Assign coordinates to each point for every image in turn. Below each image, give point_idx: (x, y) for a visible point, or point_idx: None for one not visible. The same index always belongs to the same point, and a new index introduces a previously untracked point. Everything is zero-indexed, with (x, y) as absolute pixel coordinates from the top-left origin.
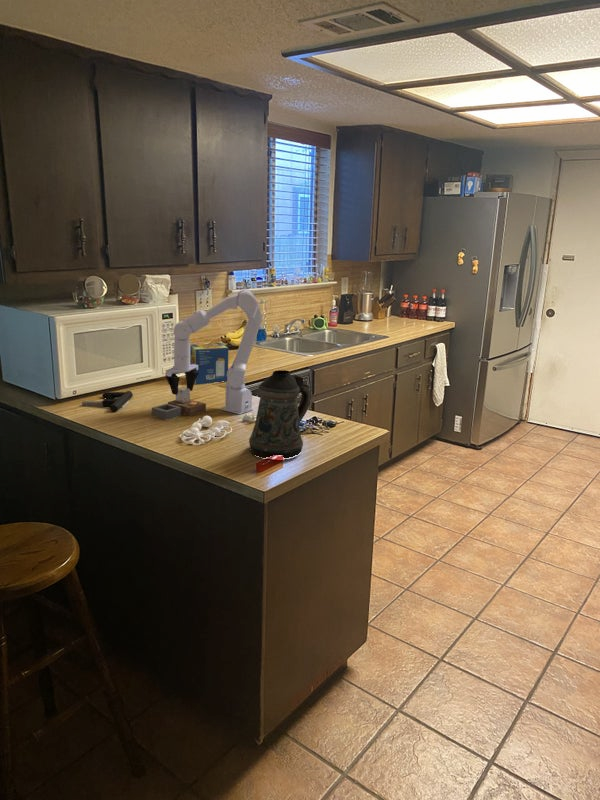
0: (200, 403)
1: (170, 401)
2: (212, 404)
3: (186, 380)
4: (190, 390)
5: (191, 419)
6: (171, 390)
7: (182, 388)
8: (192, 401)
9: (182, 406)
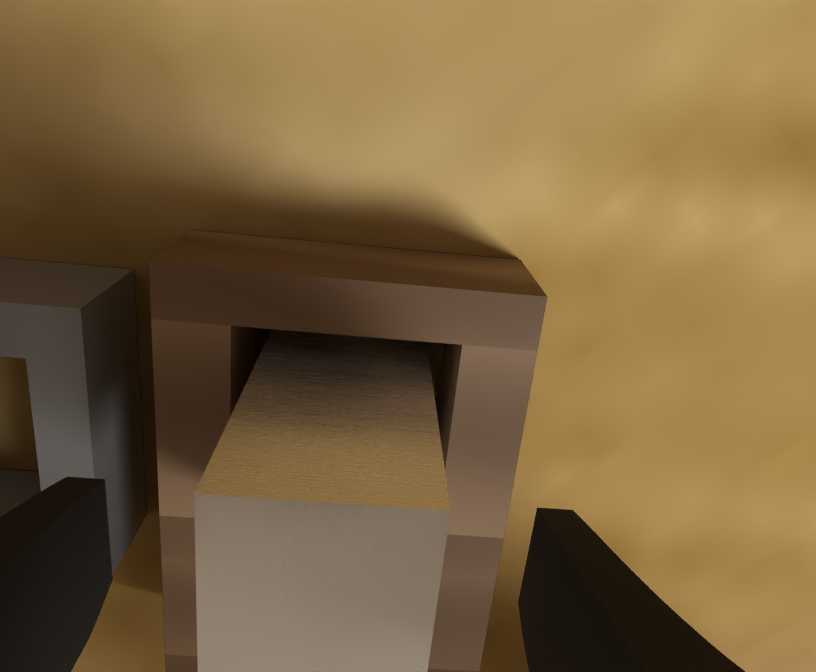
0: (433, 658)
1: (212, 273)
2: (762, 517)
3: (626, 642)
4: (523, 585)
5: (129, 665)
6: (9, 517)
7: (328, 592)
8: (447, 532)
9: (163, 564)
